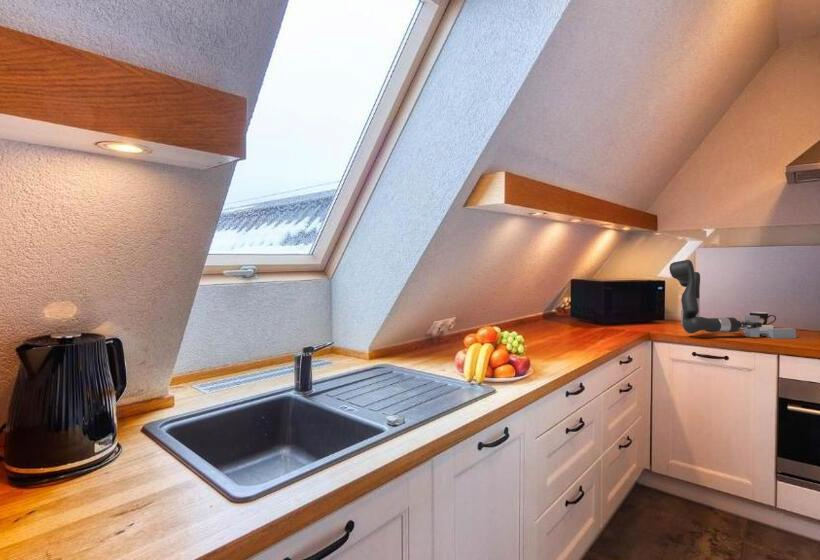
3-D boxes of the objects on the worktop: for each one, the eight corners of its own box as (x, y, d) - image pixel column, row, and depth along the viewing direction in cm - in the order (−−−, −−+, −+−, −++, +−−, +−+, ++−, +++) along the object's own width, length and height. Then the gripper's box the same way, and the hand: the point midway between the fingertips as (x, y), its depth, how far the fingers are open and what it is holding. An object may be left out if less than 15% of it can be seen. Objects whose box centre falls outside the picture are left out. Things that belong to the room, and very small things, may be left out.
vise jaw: (729, 330, 248) (729, 325, 248) (769, 330, 249) (769, 324, 249) (734, 331, 245) (734, 326, 245) (774, 331, 245) (774, 325, 245)
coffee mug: (747, 330, 261) (747, 312, 261) (751, 328, 267) (751, 311, 267) (773, 332, 253) (773, 314, 252) (776, 330, 258) (776, 312, 258)
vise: (743, 332, 251) (743, 324, 251) (764, 332, 252) (764, 324, 252) (773, 338, 231) (773, 329, 231) (796, 338, 232) (796, 329, 232)
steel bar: (744, 336, 238) (745, 315, 237) (754, 336, 238) (754, 315, 238) (749, 337, 234) (750, 316, 234) (759, 337, 234) (759, 316, 234)
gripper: (735, 319, 228) (768, 318, 229) (715, 316, 243) (747, 315, 243) (735, 334, 229) (768, 333, 229) (715, 330, 243) (746, 329, 243)
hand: (757, 324), depth 236 cm, fingers open, 4 cm apart
